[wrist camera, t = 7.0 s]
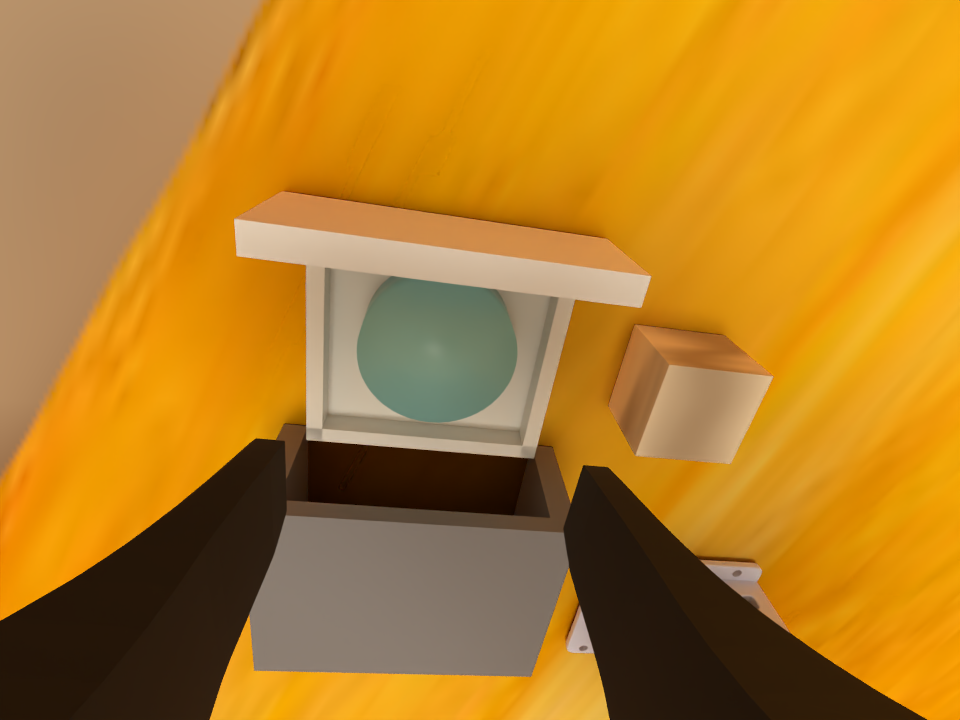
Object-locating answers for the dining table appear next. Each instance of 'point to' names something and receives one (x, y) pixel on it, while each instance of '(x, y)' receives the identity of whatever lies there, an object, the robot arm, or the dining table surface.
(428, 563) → the block
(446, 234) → the tray
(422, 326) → the disc
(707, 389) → the pedestal
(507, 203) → the dining table surface
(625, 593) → the robot arm
